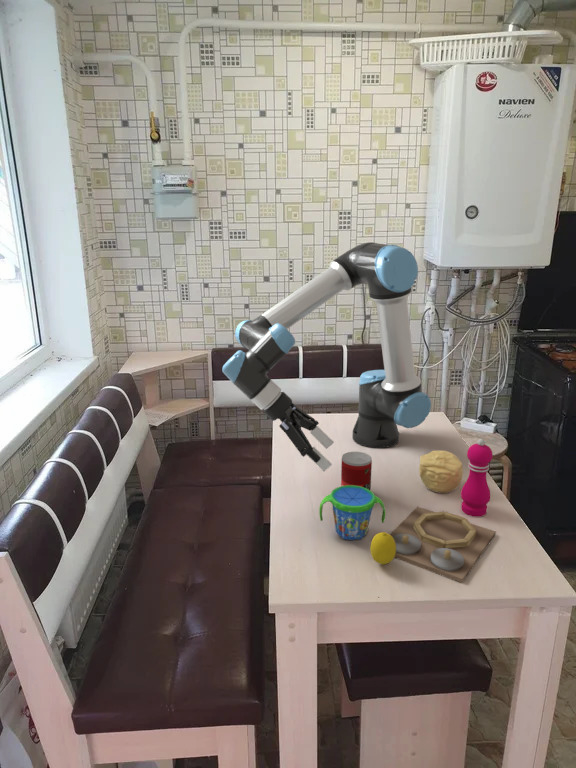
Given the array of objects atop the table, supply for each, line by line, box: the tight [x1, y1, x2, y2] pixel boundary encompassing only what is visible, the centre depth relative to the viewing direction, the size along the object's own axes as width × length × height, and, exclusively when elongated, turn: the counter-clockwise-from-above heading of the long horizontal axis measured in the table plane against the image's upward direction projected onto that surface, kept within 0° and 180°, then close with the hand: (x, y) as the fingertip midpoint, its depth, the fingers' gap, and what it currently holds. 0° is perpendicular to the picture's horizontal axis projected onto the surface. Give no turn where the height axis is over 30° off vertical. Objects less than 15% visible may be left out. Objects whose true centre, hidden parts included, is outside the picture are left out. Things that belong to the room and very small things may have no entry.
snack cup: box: [318, 485, 386, 541], centre depth 141 cm, size 16×10×10 cm
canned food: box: [340, 451, 373, 491], centre depth 158 cm, size 8×8×11 cm
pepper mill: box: [460, 438, 494, 518], centre depth 148 cm, size 7×7×20 cm
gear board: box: [389, 506, 497, 584], centre depth 138 cm, size 22×20×4 cm
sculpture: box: [418, 450, 464, 494], centre depth 162 cm, size 11×12×11 cm
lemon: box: [369, 531, 396, 566], centre depth 129 cm, size 6×6×8 cm
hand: (329, 456), depth 157 cm, fingers open, 13 cm apart
